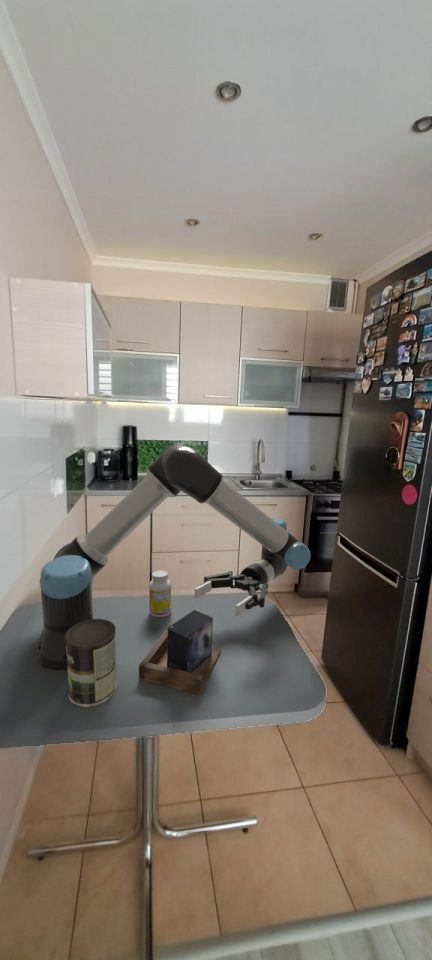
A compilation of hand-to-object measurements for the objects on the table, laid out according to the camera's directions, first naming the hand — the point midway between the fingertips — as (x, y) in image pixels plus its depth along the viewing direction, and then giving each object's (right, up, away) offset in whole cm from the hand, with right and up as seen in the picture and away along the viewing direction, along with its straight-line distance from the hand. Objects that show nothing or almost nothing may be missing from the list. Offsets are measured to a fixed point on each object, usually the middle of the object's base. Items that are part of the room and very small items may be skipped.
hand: (215, 601), depth 96 cm
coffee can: (-27, -15, -15) cm, 34 cm away
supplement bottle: (-17, -9, +17) cm, 26 cm away
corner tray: (-8, -13, -6) cm, 17 cm away
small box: (-6, -13, -6) cm, 15 cm away
